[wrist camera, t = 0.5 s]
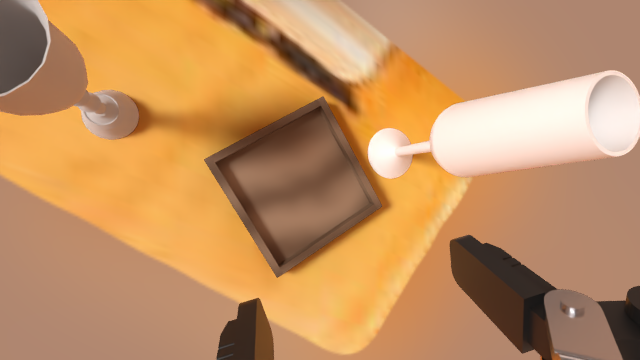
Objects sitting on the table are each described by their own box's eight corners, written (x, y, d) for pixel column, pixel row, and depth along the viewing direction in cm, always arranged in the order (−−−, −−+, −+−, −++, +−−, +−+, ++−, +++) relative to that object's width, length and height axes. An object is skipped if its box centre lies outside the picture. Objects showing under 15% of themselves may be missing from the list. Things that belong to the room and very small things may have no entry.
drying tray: (205, 160, 33) (203, 159, 31) (318, 101, 36) (323, 96, 34) (274, 272, 35) (277, 277, 33) (374, 204, 39) (382, 206, 36)
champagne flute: (418, 138, 40) (663, 82, 17) (404, 185, 40) (640, 190, 17) (376, 120, 39) (587, 30, 16) (361, 168, 38) (558, 149, 15)
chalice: (152, 86, 31) (55, -31, 14) (149, 150, 31) (46, 112, 14) (69, 76, 29) (-164, -75, 12) (65, 144, 29) (-177, 91, 12)
